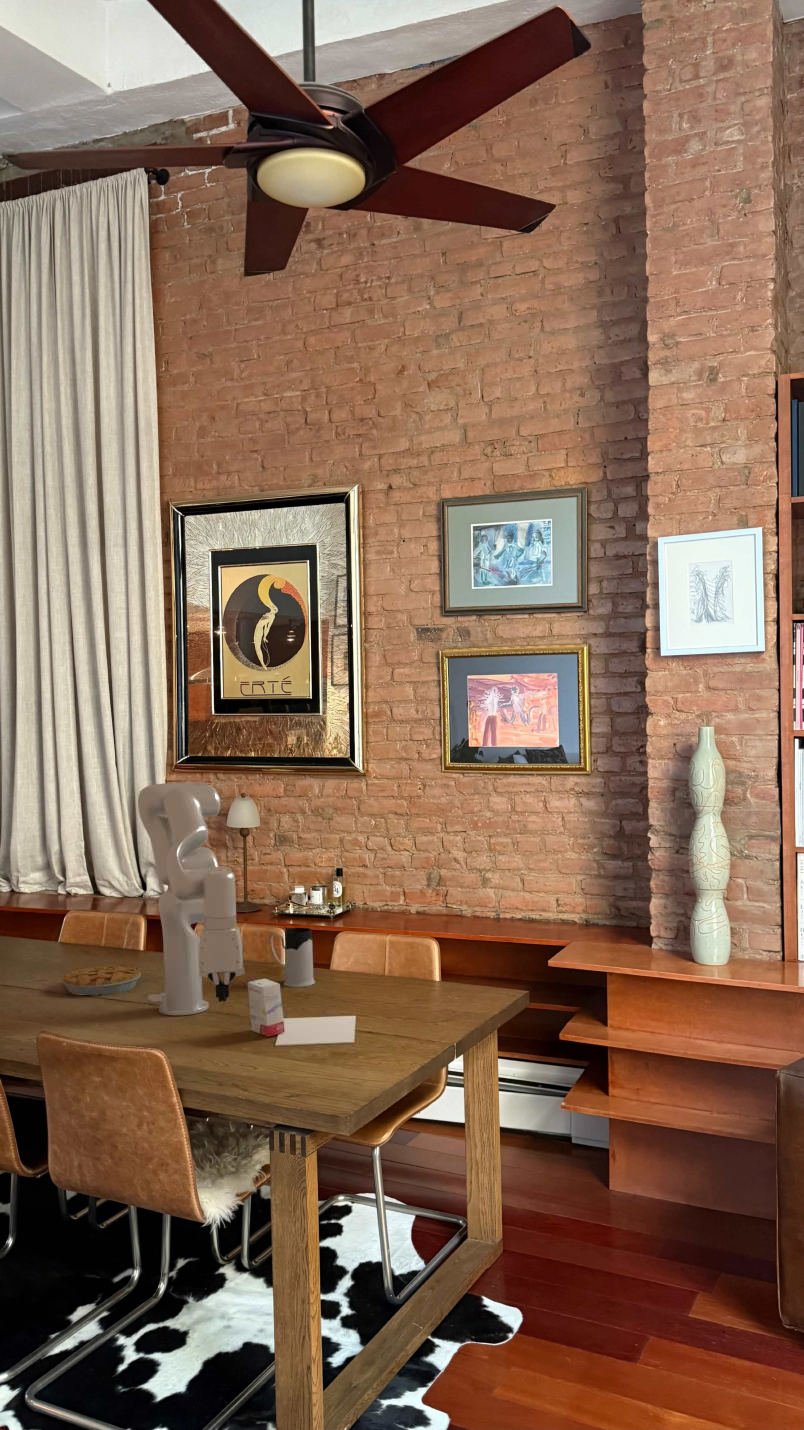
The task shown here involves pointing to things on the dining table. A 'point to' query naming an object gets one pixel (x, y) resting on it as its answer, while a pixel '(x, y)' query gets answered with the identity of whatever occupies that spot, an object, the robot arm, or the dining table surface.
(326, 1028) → the mat
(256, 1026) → the ink box
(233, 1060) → the dining table surface
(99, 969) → the pie
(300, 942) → the tall grey black mug
